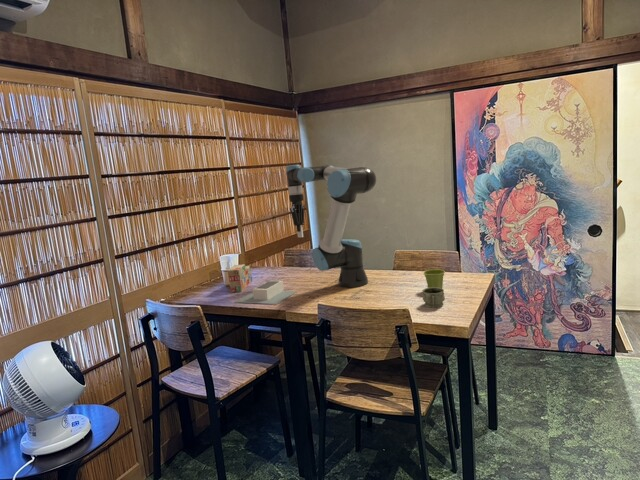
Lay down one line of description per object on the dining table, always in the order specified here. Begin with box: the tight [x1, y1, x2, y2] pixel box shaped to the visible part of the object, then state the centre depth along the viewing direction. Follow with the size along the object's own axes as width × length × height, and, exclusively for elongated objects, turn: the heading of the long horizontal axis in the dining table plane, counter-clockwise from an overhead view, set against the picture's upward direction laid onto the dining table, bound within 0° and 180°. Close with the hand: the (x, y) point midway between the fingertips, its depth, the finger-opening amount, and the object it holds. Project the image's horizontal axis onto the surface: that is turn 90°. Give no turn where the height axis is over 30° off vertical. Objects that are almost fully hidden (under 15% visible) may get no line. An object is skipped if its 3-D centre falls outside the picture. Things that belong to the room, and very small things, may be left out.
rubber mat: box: [233, 290, 298, 305], centre depth 213 cm, size 24×20×1 cm
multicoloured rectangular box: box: [227, 263, 253, 293], centre depth 239 cm, size 21×6×12 cm, turn 173°
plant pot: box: [423, 268, 446, 289], centre depth 196 cm, size 9×9×9 cm
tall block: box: [252, 280, 285, 300], centre depth 215 cm, size 8×5×16 cm
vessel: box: [422, 287, 446, 309], centre depth 177 cm, size 12×9×6 cm
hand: (300, 237), depth 235 cm, fingers closed
